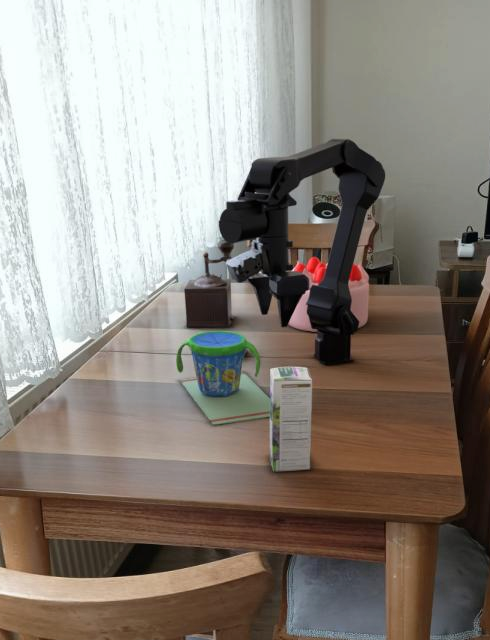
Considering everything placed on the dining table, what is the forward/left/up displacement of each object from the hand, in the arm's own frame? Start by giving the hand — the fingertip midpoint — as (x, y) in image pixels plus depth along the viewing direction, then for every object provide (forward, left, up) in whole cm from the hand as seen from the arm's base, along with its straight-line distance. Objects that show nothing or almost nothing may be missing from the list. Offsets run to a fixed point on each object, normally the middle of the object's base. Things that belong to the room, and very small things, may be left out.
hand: (274, 320), depth 146 cm
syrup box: (+10, +35, -12) cm, 39 cm away
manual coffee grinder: (-1, -48, -12) cm, 49 cm away
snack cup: (+12, +2, -12) cm, 17 cm away
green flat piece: (+11, +5, -12) cm, 17 cm away
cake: (-26, -35, -12) cm, 45 cm away
